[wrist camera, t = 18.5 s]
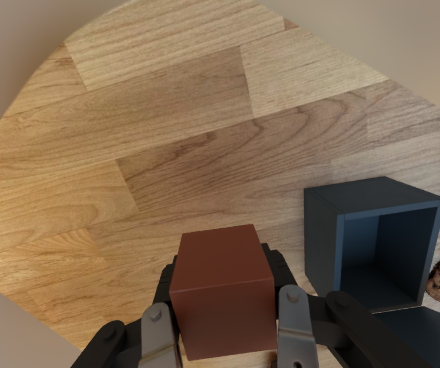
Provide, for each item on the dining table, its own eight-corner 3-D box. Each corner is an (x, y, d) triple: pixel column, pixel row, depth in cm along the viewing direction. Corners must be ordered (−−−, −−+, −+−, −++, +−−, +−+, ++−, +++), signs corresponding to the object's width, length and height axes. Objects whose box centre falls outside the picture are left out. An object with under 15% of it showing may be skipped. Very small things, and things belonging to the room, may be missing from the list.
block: (182, 233, 13) (168, 292, 9) (253, 223, 13) (274, 277, 9) (194, 288, 15) (187, 361, 10) (258, 279, 15) (278, 349, 10)
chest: (303, 188, 32) (337, 215, 24) (384, 176, 32) (447, 198, 24) (304, 273, 37) (332, 319, 29) (373, 263, 37) (421, 306, 29)
